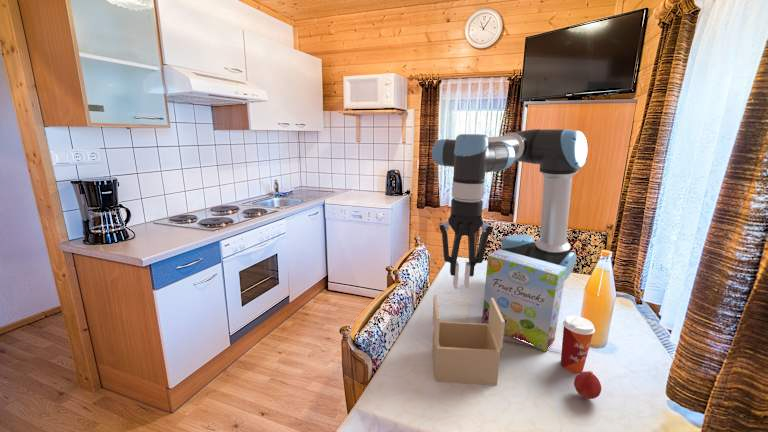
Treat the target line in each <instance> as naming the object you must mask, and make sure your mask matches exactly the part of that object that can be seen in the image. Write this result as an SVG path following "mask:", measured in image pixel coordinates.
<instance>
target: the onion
mask: <svg viewBox="0 0 768 432" xmlns="http://www.w3.org/2000/svg"><path fill="white" fill-rule="evenodd" d="M573 386H574V388H575V391H576V392H577V394H579V396H581V397H582V399H584V400H594V399H597V398H598V397H599V396H600V394H601V392H602V385H601V381H600V380H599V378H598V377H597V376H596V375H595V374H594V373H593V371H592V370H588V371H582V372H580V373H577V375H576V376H574V380H573Z"/></svg>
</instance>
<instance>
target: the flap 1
mask: <svg viewBox="0 0 768 432" xmlns="http://www.w3.org/2000/svg"><path fill="white" fill-rule="evenodd" d="M432 299H433V300H432V301H433V303H432V305H433V306H432V326H433V327H432V328H433V329H434V338H435V345H438V343H439V326H440V321H441V317H440V311H439V303H438V297H437V295H435V294H434V295H433V298H432ZM433 329H432V330H433Z"/></svg>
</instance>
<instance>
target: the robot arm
mask: <svg viewBox="0 0 768 432" xmlns="http://www.w3.org/2000/svg"><path fill="white" fill-rule="evenodd" d="M431 152H432V153H431V157H432V159H433V160H432V161H433V162H434V163H435V164H436V165H439V166H443V167H452V168H453V177H452V186H451V188H452V189H451V197H452V199H451V203H450V216H449V218H448V219H447V221H445V222H440V223H438V227H439V228H438V229H439V230H440V232H441V237H442V238H441V240H442V252H443V253H442V254H443V258H444V262H445V263H449V273H450V275H451V276H452V277H453V281H452V282H453V284H452V285H453V289H454V290H455V289H456V290H457V289H458V285H459V273H460V272H459V271H460V268H459V267H460V264H459V261H458V257H459V256H458V255H459V251H460V245H461V240H462V237H463V236H467V247H468V261H465V268H464V281H463V282H464V283H463V286H464V288H465V290H469V288H470V287H469V286H470V277H474V274H475V266H476V265H477V264H481V263H483V261H484V256H485V253H486V249H487V244H488V238H489V236H490V235H491V233H492V231H493V227H492V226H491V224H489V223H485V222H484V220H483V217H482V216H483V206H484V205H483V204H484V202H483V198H484V193H485V192H484V191H485V180H486V173H492V172H501V171H504V170H507V169H509V168H510V167H511V166H513V164H514V163H515V162H521V163H526V164H533V165H539V173H540V174H542V176H543V185H542V187H543V188H542V200H541V201H542V202H541V216H540V218H541V219H540V234H539V238H538V239H537V240H536V241H535V238H534V237H533V236H532V235H528V234H511V235H507V236H505V237H503V238H502V241H501V246H500V249H501V250H505V251H508V252H512V253H516V254H520V255H523V256H527V257H531V258H535V259H538V260H542V261H546V262H549V263H553V264H557V265H560V266H564V267H567V269H566V275H565V281H566V280H567V279H568V278H569V277H570V275H571V273H572V272H573V269H574V267H575V264H576V261H577V254H576V253H575V252H573V251H571V248H572V247H571V243H569V241H567V239H568V228H569V216H570V215H569V214H570V207H571V196H572V194H571V193H572V182H573V177H574V175H576V174H577V173H579V168H583V166H584V165H585V164H586V161H587V160H586V158H587V157H588V142H587V138H586V137H585V134H584V133H583V132H582V131H580V130H575V129H567V128H566V129H565V128H564V129H559V128H558V129H543V128H542V129H540V128H537V129H535V128H534V129H526V130H521V131H515V132H508V133H507V132H506V133H505V134H504V135H501V136H488V135H486V134H480V133H478V134H477V133H474V134H472V133H469V134H468V133H465V134H463V133H462V134H457V136H456V138H455V139H449V138H445V139H443V138H442V139H438V140H436V142H435V143H434V144H433V146H432V149H431ZM449 227H450V228H451V229H452V230H453V232H454V238H453V244H452V249H451V253H450V250H449V239H448V231H449ZM479 229H481V234H480V238H479V241H478V242H479V243H478V247H477V253H476V251H475V249H476V248H475V246H476V245H475V240H476V239H475V236H476V233H477V232H478V231H479ZM475 253H476V254H475ZM450 254H451V255H450Z"/></svg>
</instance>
